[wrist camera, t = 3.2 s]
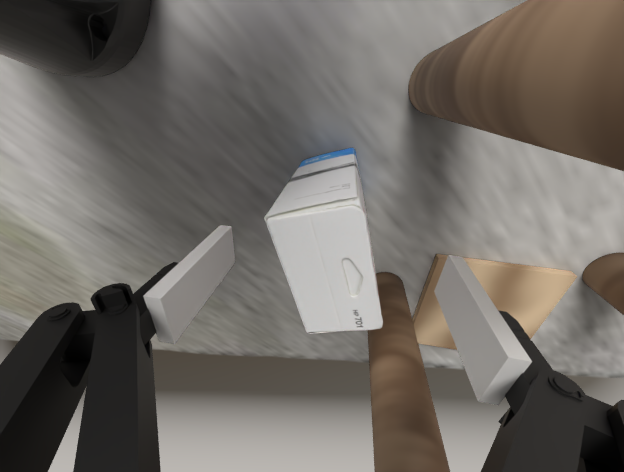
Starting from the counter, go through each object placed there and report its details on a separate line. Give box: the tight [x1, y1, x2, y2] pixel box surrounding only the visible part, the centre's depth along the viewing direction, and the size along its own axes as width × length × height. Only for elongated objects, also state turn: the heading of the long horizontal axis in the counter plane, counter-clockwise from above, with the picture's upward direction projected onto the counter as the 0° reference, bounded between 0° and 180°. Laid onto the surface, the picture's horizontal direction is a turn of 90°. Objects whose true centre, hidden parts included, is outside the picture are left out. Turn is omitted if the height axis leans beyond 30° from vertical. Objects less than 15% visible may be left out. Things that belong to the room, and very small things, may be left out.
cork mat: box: [412, 254, 577, 350], centre depth 27 cm, size 12×12×1 cm
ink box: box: [264, 148, 383, 334], centre depth 18 cm, size 9×5×12 cm, turn 14°
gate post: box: [368, 272, 450, 472], centre depth 19 cm, size 4×4×20 cm
